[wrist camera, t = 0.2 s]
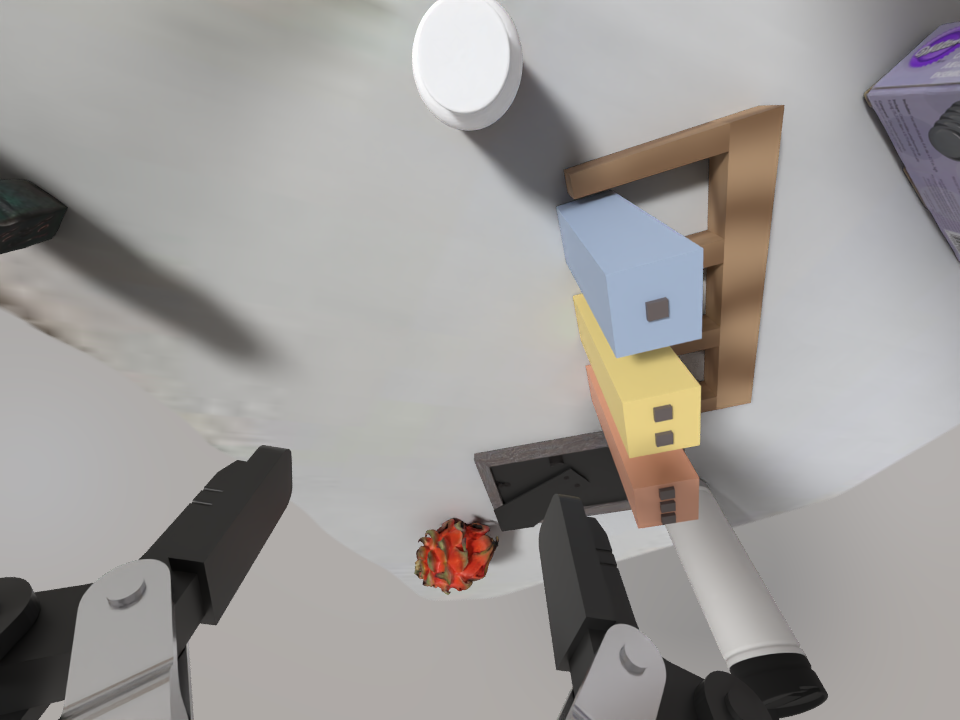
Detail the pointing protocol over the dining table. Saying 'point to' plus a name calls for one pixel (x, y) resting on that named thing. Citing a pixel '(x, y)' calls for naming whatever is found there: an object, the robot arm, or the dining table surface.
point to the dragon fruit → (454, 555)
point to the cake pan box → (927, 123)
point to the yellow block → (643, 391)
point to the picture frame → (551, 478)
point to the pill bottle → (467, 62)
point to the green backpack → (26, 215)
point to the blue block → (633, 273)
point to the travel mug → (744, 613)
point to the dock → (715, 232)
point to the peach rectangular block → (650, 474)
